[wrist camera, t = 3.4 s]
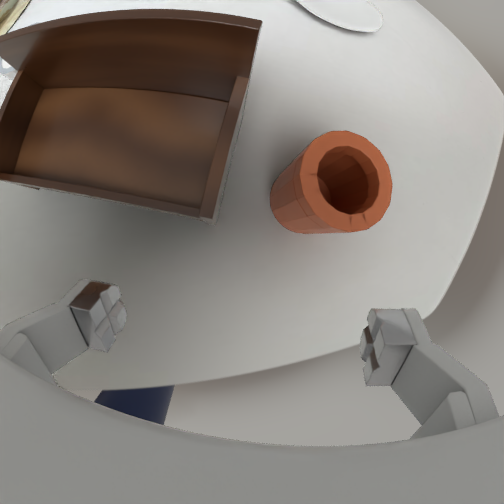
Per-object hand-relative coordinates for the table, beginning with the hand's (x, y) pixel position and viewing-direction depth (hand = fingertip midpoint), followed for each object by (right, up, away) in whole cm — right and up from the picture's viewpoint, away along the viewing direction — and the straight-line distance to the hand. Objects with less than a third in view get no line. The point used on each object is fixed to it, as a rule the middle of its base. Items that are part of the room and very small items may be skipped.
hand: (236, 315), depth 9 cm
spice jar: (+5, +7, +17) cm, 18 cm away
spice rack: (-11, +11, +15) cm, 22 cm away
